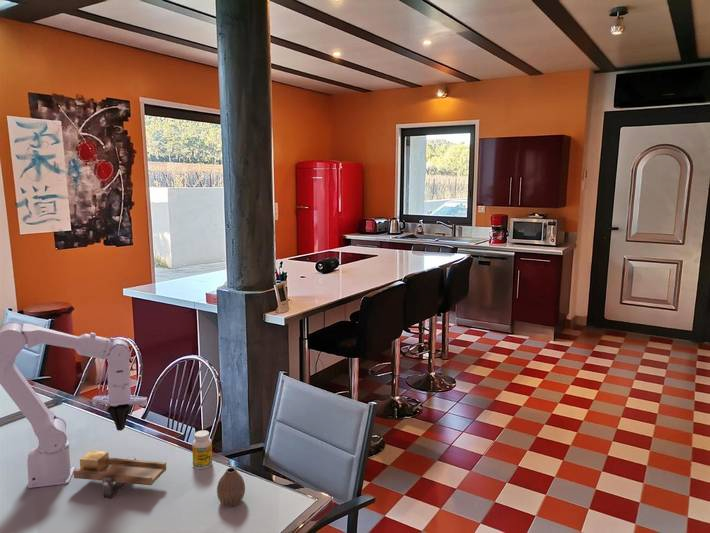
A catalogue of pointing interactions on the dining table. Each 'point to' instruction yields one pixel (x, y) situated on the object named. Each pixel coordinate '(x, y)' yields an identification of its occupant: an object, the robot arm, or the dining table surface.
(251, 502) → the dining table surface
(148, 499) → the dining table surface
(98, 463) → the block
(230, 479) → the vase
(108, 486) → the stand
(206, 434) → the supplement bottle
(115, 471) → the beam
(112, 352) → the robot arm
